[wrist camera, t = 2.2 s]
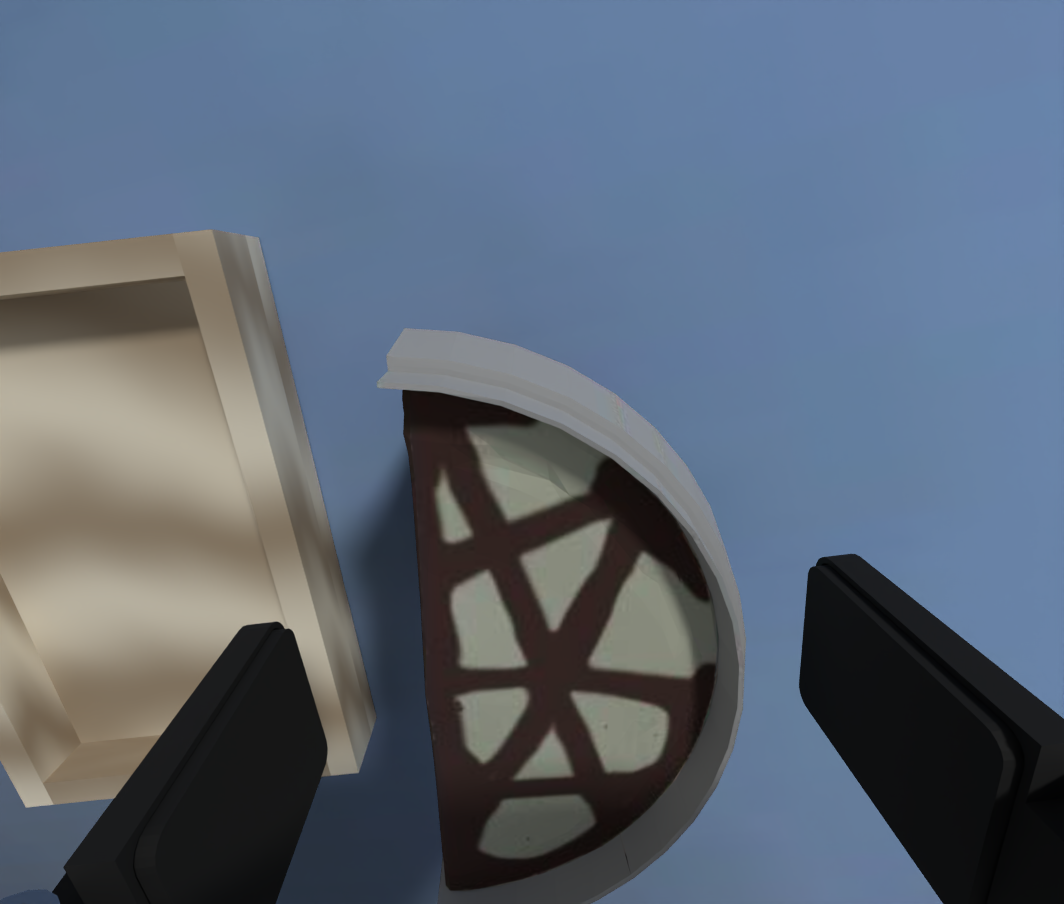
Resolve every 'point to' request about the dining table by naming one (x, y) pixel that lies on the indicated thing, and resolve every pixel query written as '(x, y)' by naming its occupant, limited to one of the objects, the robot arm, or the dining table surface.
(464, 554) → the food container
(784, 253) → the dining table surface
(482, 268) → the dining table surface
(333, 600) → the holder tray
